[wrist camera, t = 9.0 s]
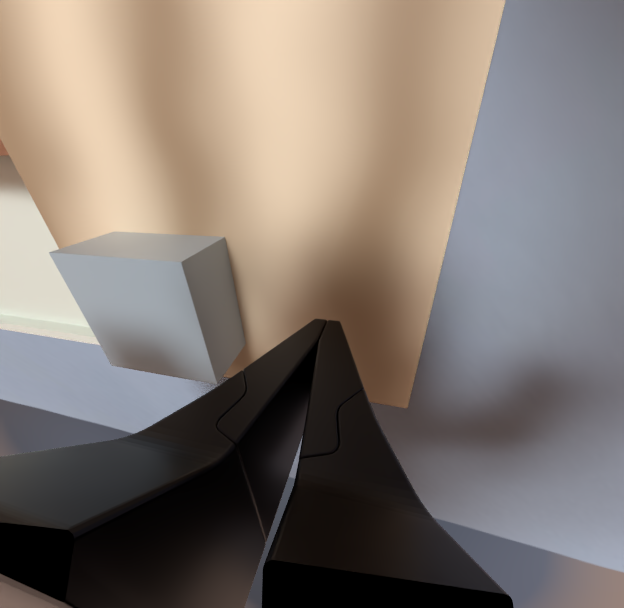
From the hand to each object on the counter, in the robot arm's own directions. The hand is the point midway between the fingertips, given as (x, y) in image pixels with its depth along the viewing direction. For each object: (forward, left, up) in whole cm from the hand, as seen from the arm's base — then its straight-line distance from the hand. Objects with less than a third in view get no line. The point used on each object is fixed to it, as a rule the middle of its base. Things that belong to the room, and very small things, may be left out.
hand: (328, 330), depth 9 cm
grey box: (+7, 0, -2) cm, 7 cm away
